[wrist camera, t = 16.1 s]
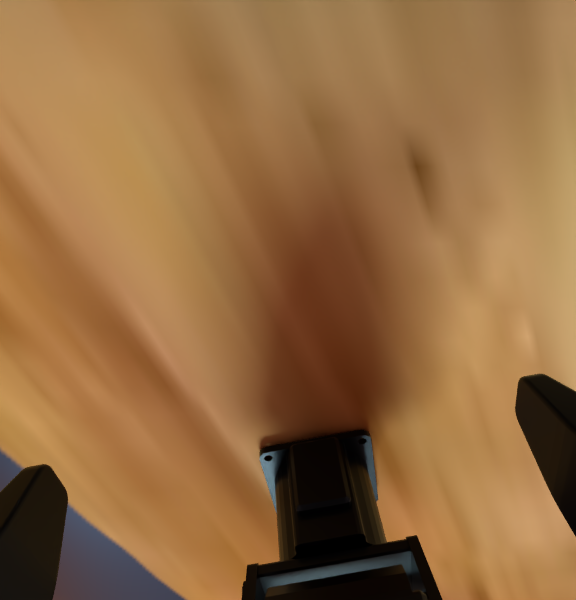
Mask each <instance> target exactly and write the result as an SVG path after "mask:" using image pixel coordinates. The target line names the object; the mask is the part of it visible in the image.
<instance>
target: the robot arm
mask: <svg viewBox="0 0 576 600" xmlns="http://www.w3.org/2000/svg"><path fill="white" fill-rule="evenodd" d="M515 411H516V416H517V420H518V422H519V424H520V427H521V429H522V431H523V433H524V435H525V438H526V440H527V442H528V444H529V446H530V449H531V451H532V453H533V455H534V458H535V460H536V462H537V464H538V466H539V469H540V471H541V473H542V475H543V477H544V480H545V482H546V484H547V486H548V488H549V490H550V492H551V494H552V496H553V498H554V500H555V502H556V504H557V505H558V507H559V509H560V511H561V512H562V514H563V516H564V518H565V519H566V521H567V523H568V524H569V526H570V528H571V529H572V531H573V533H574V535H575V536H576V391H574V390H572V389H570V388H569V387H567V386H565V385H563V384H562V383H560V382H558V381H556V380H554V379H553V378H551V377H549V376H547V375H545V374H535V375H529V376H524V377H521V378H520V380H519V382H518V388H517V397H516V406H515ZM361 438H362V439H361ZM267 455H269V456H267ZM260 462H261V465H262V468H263V472H264V475H265V478H266V481H267V484H268V488H269V491H270V494H271V497H272V500H273V504H274V507H275V510H276V513H277V526H278V542H279V557H280V561H279V562H273V563H268V564H262V565H259V564H258V563H256V564H251V565H247V574H246V581H244V582H243V587H242V600H442V597H441V595H440V592H439V590H438V587H437V585H436V582H435V580H434V577H433V575H432V572H431V570H430V567H429V565H428V562H427V560H426V557H425V555H424V552H423V550H422V547H421V545H420V542H419V540H418V537H417V535H415V536H409V537H406V539H404V540H398V541H392V542H387V541H386V537H385V534H384V530H383V526H382V522H381V518H380V515H379V511H378V507H377V503H376V501H377V500H378V494H377V485H376V477H375V469H374V460H373V452H372V443H371V438H370V434H369V432H368V431H366V430H357V431H352V432H346V433H341V434H335V435H330V436H324V437H319V438H313V439H308V440H302V441H297V442H292V443H286V444H281V445H275V446H270V447H265V448H263V449H261V450H260ZM67 504H68V495H67V491H66V489H65V487H64V486H63V484H62V483H61V481H60V480H59V478H58V477H57V475H56V474H55V472H54V471H53V470H52V468H51V467H50V466H48V465H46V464H42V465H37V466H31V467H27V468H25V469H23V470H22V471H21V472H20V473H19V474H18V475H17V476H16V477H15V478H14V479H13V480H12V481H11V482H10V483H9V484H8V485H7V486H6V487H5V488H4V489H3V490H2V491H1V492H0V600H52V599H53V594H54V590H55V585H56V580H57V575H58V569H59V561H60V554H61V547H62V540H63V532H64V526H65V518H66V512H67Z"/></svg>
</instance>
